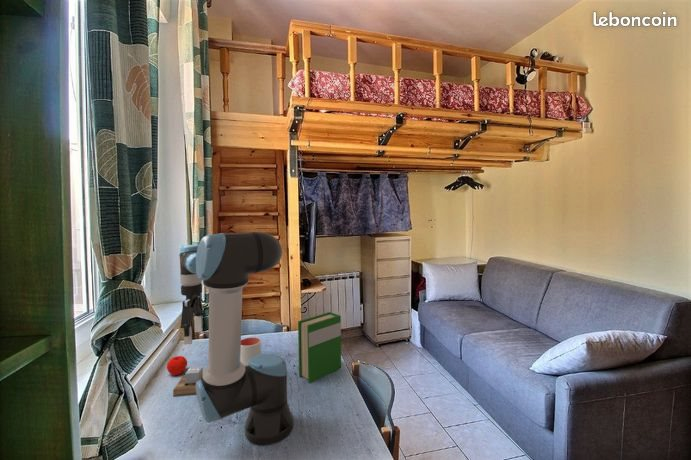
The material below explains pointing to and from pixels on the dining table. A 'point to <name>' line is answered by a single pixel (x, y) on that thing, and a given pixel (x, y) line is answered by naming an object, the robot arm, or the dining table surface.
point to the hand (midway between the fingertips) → (193, 337)
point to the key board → (184, 388)
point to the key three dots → (193, 374)
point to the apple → (177, 365)
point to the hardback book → (319, 346)
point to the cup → (249, 349)
